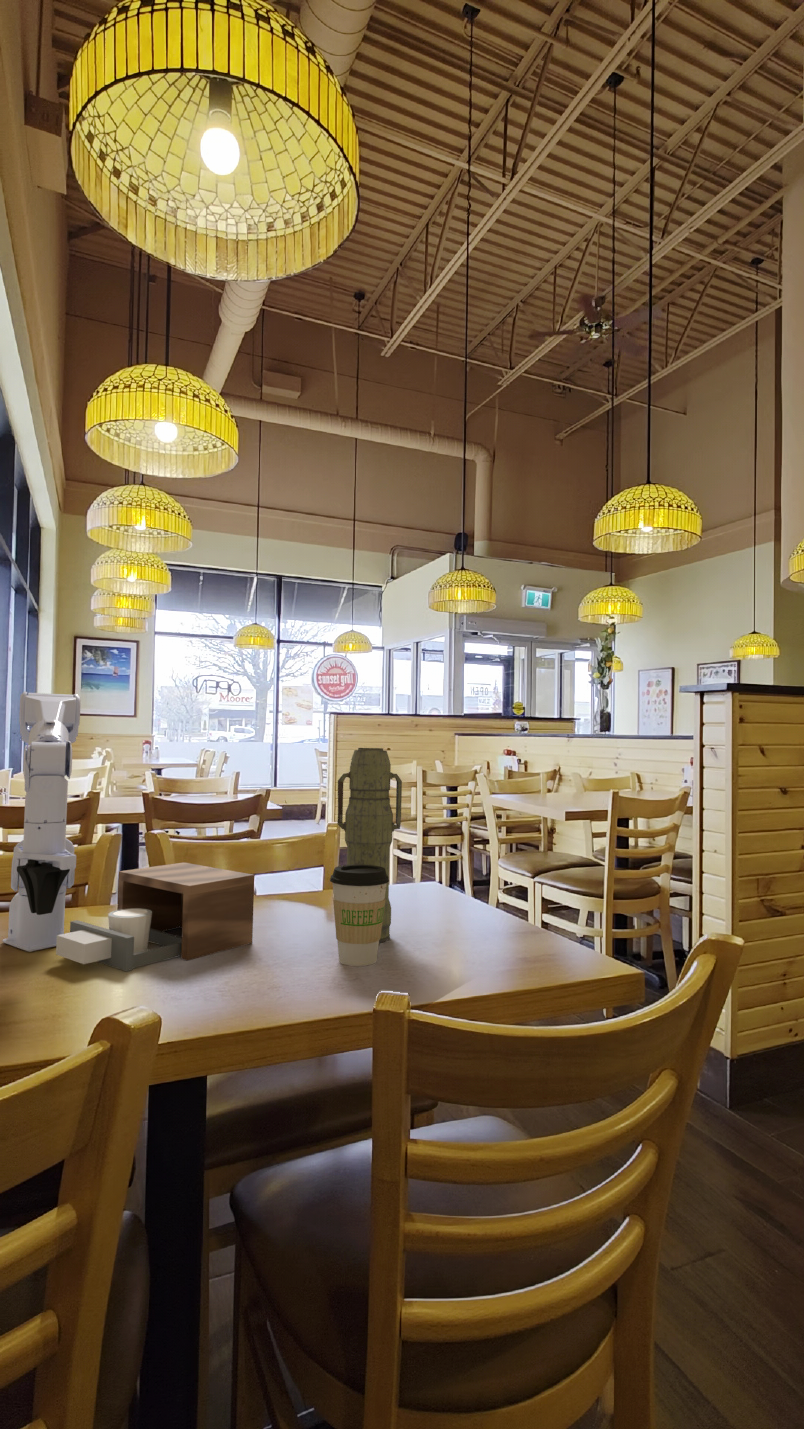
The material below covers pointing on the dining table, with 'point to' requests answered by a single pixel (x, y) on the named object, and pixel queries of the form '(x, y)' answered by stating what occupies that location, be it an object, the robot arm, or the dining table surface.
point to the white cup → (132, 925)
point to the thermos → (370, 815)
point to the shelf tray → (114, 946)
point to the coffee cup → (358, 911)
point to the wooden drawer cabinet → (193, 904)
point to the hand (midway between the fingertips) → (41, 912)
